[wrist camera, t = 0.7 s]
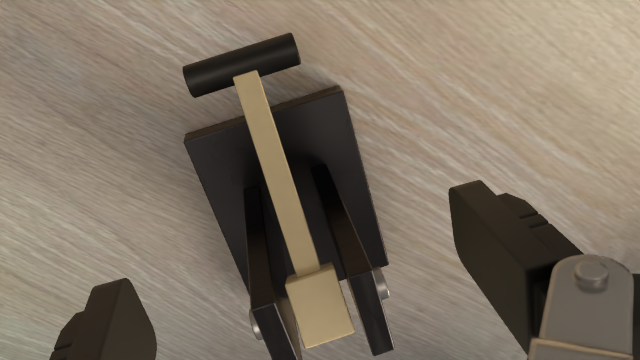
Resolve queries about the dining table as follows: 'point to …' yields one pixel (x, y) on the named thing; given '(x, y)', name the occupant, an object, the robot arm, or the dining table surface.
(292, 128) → the bracket
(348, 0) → the dining table surface
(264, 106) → the lever
